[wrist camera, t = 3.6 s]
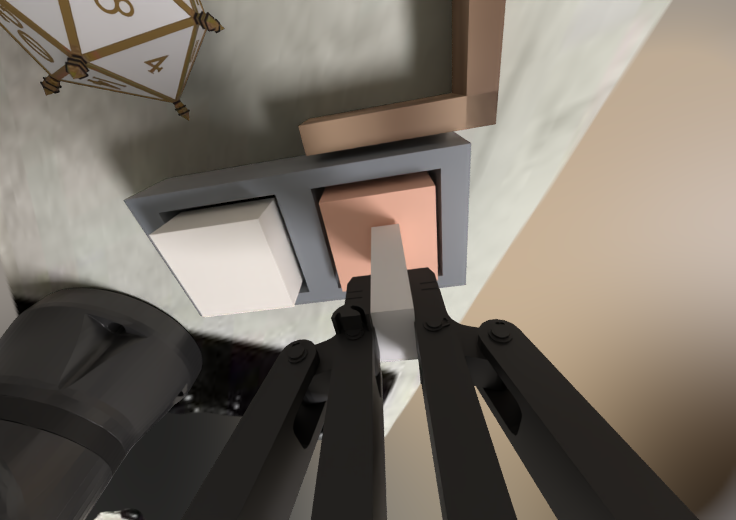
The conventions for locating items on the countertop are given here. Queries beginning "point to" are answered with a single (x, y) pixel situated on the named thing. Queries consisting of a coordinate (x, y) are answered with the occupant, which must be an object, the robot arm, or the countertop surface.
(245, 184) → the key panel
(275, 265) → the ivory key
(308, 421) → the robot arm
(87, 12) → the game die
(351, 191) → the terracotta key
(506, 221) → the countertop surface
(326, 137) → the walnut bracket
